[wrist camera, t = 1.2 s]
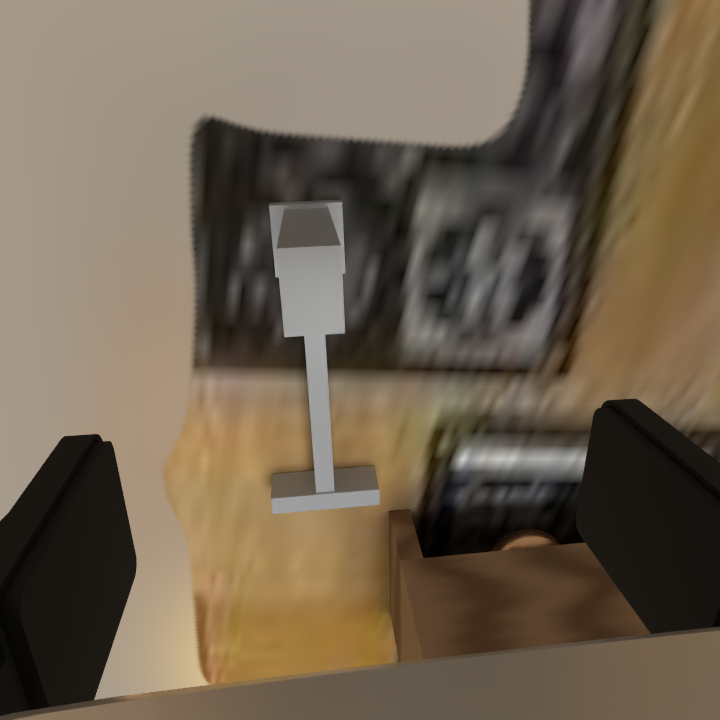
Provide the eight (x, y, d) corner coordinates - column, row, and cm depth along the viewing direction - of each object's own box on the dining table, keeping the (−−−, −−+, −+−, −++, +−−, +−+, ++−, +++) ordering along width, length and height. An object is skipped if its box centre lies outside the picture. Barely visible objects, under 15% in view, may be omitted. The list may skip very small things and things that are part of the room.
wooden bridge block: (664, 486, 42) (801, 620, 31) (641, 595, 46) (754, 748, 35) (388, 511, 41) (424, 663, 29) (390, 621, 45) (422, 792, 33)
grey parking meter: (366, 198, 32) (401, 235, 21) (374, 480, 39) (403, 616, 28) (243, 204, 31) (212, 244, 20) (274, 488, 39) (264, 631, 28)
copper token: (562, 522, 43) (572, 536, 42) (554, 582, 45) (563, 598, 44) (486, 529, 43) (493, 544, 41) (482, 590, 45) (488, 605, 43)
